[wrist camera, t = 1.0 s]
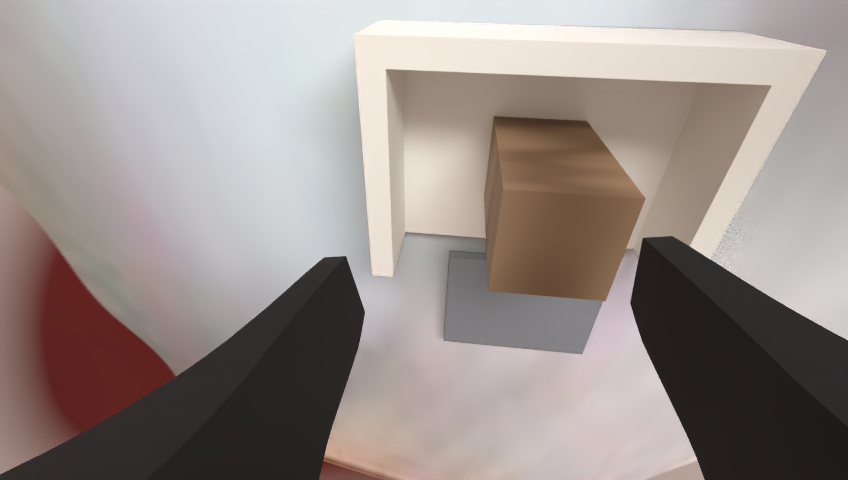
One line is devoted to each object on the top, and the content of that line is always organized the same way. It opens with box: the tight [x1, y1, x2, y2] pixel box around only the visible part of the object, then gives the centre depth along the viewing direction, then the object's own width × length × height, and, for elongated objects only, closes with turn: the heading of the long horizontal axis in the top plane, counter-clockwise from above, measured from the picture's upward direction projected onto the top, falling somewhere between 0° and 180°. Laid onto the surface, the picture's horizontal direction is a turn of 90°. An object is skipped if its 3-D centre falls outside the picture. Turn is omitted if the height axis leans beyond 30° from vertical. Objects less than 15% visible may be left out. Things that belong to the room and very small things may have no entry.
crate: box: [353, 20, 827, 277], centre depth 16 cm, size 14×10×4 cm
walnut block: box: [484, 116, 646, 301], centre depth 15 cm, size 4×4×7 cm
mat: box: [444, 251, 603, 354], centre depth 24 cm, size 9×7×1 cm
